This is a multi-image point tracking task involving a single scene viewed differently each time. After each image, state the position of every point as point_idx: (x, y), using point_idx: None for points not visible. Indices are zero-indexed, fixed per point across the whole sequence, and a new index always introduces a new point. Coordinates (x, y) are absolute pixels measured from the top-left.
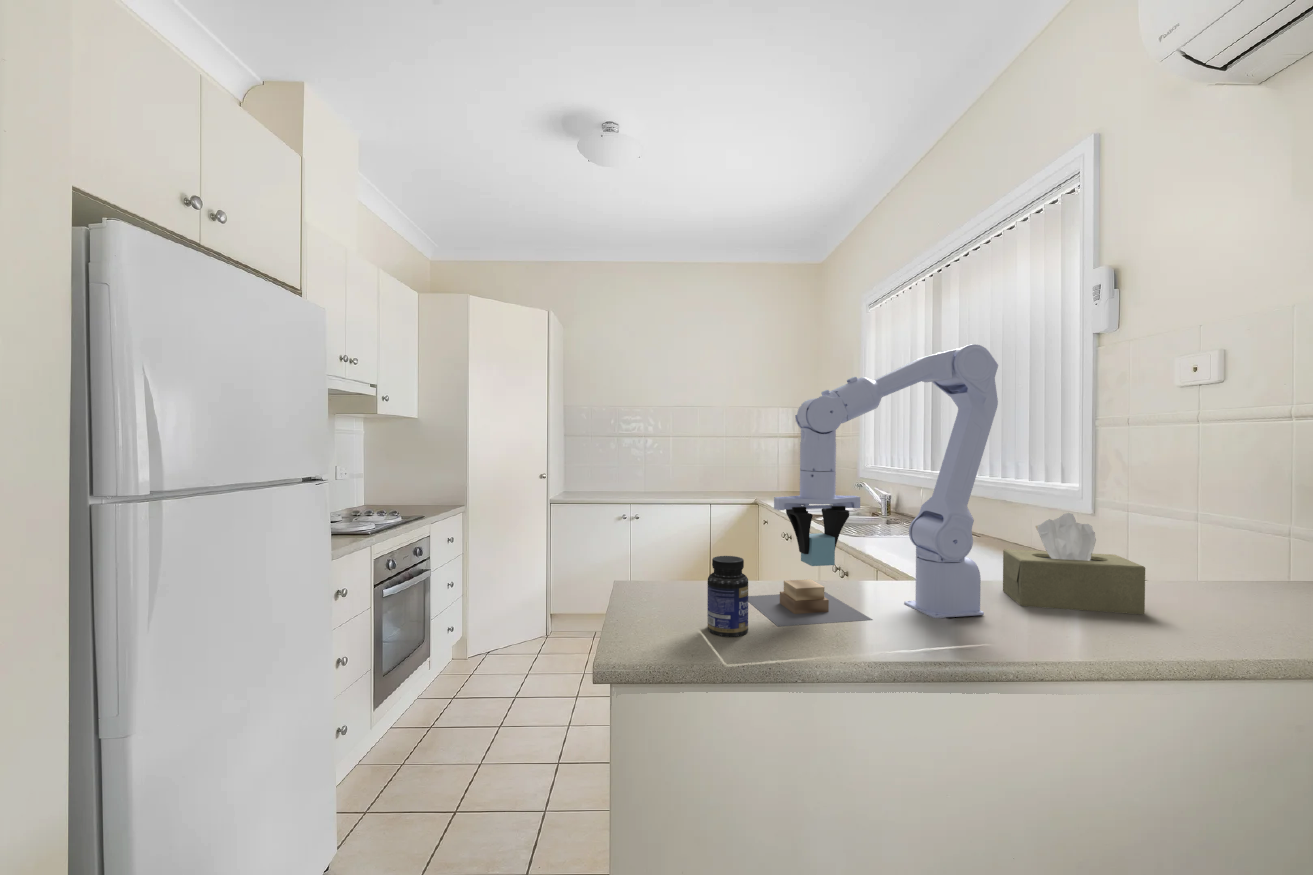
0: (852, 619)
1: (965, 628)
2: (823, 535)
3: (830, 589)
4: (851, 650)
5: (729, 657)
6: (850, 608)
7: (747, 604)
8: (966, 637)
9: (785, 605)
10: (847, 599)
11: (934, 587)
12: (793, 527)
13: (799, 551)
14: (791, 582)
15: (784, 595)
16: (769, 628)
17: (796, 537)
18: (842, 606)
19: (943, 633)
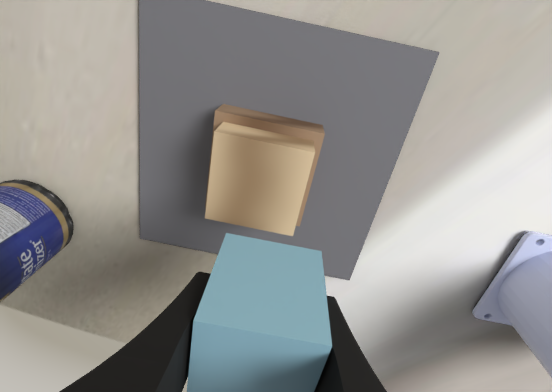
0: None
1: (469, 353)
2: (285, 382)
3: (501, 11)
4: None
5: (20, 297)
6: (368, 212)
7: (25, 280)
8: (423, 372)
9: None
10: (443, 135)
11: (536, 355)
12: (118, 355)
13: (195, 275)
14: (227, 161)
15: (212, 144)
16: (125, 229)
17: (163, 311)
18: (363, 193)
19: (409, 352)
